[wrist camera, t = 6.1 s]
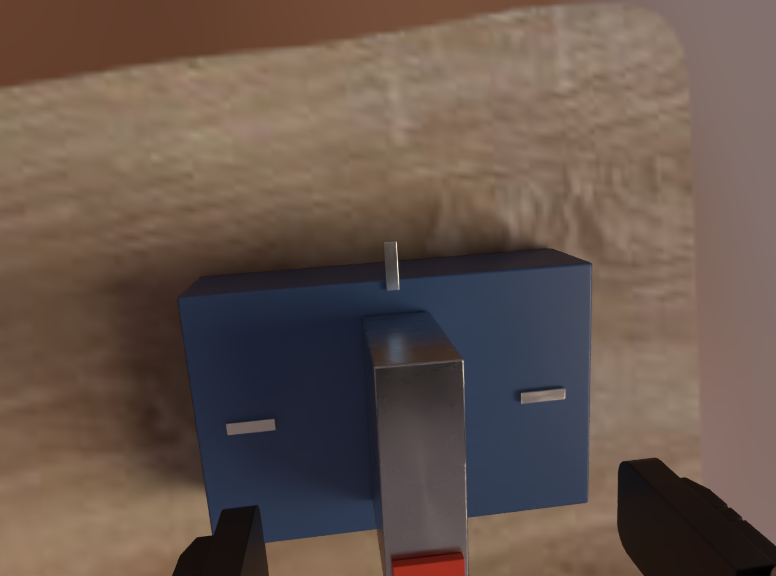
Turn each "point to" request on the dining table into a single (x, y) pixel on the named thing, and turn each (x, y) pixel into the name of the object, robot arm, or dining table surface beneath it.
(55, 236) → the dining table surface
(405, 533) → the toggle switch lever
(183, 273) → the dining table surface
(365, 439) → the toggle switch base
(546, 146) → the dining table surface
